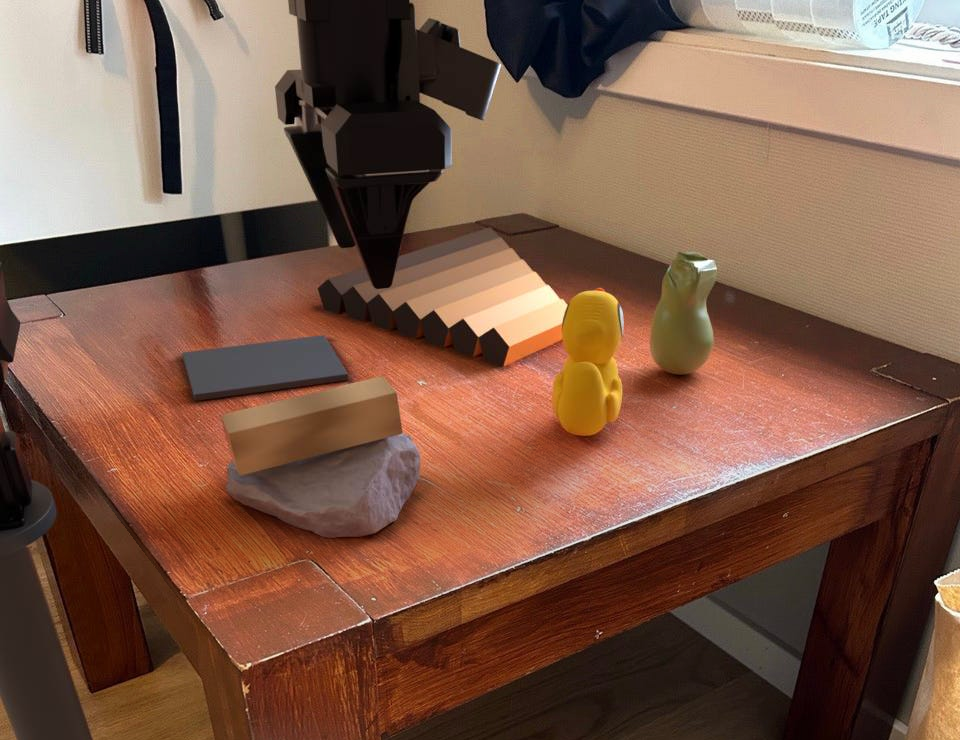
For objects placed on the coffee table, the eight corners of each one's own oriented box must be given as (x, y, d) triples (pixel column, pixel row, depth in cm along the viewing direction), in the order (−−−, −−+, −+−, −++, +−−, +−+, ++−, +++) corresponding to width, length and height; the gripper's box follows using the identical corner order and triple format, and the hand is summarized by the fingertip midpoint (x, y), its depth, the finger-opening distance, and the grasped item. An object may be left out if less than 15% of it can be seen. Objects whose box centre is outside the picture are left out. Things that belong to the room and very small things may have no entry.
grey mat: (194, 401, 80) (193, 394, 80) (183, 358, 88) (182, 352, 87) (348, 380, 83) (348, 373, 83) (324, 340, 91) (324, 334, 91)
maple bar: (239, 476, 61) (228, 433, 60) (230, 456, 64) (219, 414, 62) (403, 434, 64) (397, 392, 62) (389, 416, 66) (383, 375, 65)
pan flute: (479, 254, 114) (319, 308, 99) (479, 224, 112) (316, 275, 97) (660, 299, 101) (509, 369, 86) (664, 265, 99) (509, 332, 84)
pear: (665, 355, 88) (678, 241, 82) (719, 368, 85) (736, 251, 79) (635, 375, 84) (647, 256, 78) (692, 389, 82) (707, 268, 76)
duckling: (560, 392, 81) (566, 270, 75) (625, 396, 80) (635, 274, 74) (541, 452, 72) (545, 319, 66) (613, 458, 71) (624, 324, 65)
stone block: (378, 568, 63) (432, 473, 69) (363, 511, 59) (422, 416, 65) (219, 542, 66) (284, 454, 72) (197, 488, 63) (267, 399, 69)
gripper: (549, -19, 48) (536, 298, 57) (435, -36, 62) (440, 220, 71) (326, -17, 45) (350, 318, 54) (260, -35, 59) (288, 233, 68)
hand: (363, 266), depth 62 cm, fingers open, 9 cm apart
